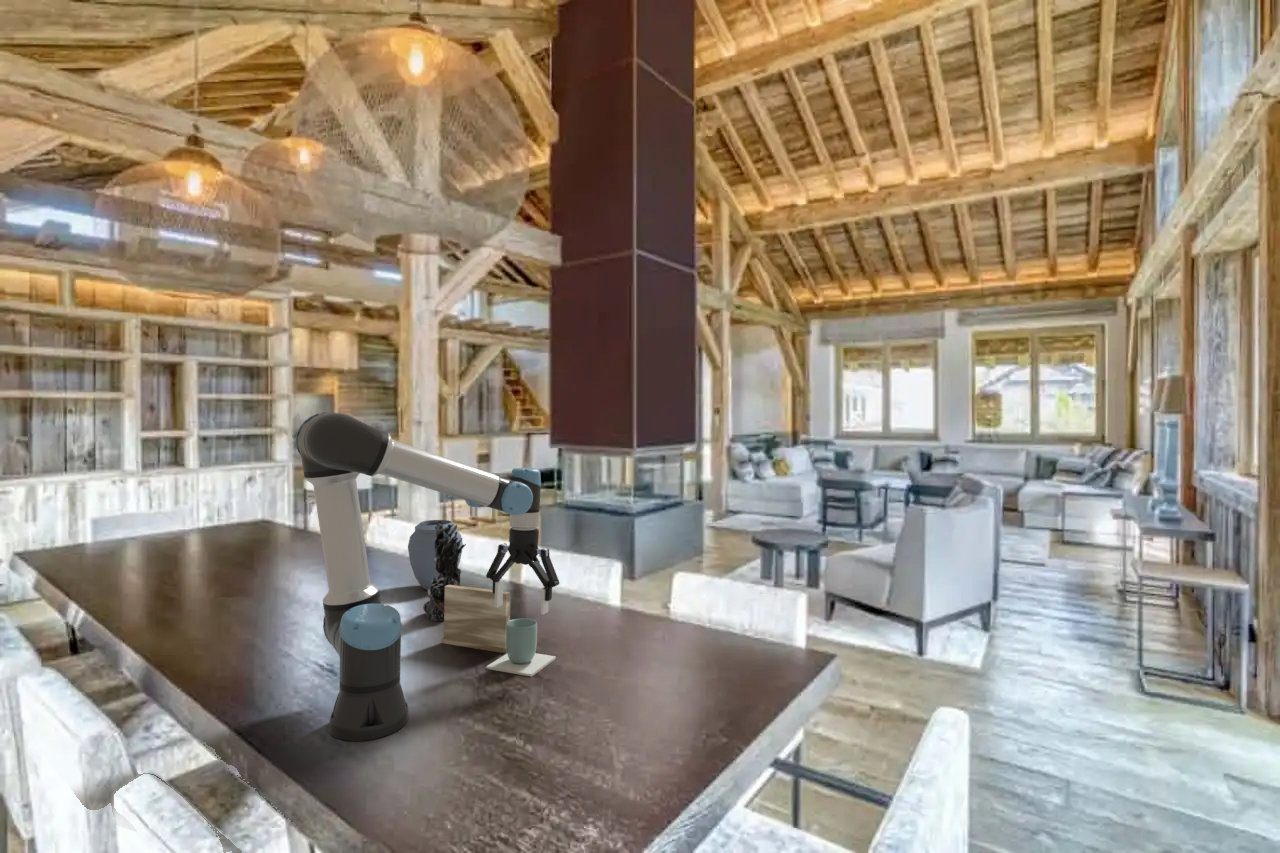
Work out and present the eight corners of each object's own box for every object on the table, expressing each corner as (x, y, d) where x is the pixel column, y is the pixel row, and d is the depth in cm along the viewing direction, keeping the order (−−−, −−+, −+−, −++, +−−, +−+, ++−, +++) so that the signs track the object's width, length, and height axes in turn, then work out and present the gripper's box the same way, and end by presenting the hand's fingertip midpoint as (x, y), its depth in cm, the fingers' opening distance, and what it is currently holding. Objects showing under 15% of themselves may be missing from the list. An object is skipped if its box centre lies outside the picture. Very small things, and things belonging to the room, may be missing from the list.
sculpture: (410, 621, 203) (411, 525, 202) (436, 607, 217) (437, 518, 217) (451, 625, 199) (453, 527, 199) (475, 611, 214) (477, 520, 214)
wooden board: (505, 653, 177) (506, 594, 177) (441, 643, 184) (442, 586, 184) (511, 650, 180) (512, 592, 179) (447, 639, 187) (448, 584, 187)
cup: (529, 668, 166) (530, 628, 165) (501, 665, 167) (501, 626, 167) (540, 657, 173) (541, 619, 173) (513, 654, 175) (513, 617, 175)
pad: (531, 676, 162) (531, 674, 162) (486, 668, 166) (486, 666, 166) (555, 658, 174) (555, 656, 174) (513, 651, 178) (513, 649, 178)
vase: (408, 582, 248) (409, 518, 248) (461, 580, 254) (462, 517, 254) (406, 596, 230) (407, 527, 229) (463, 593, 236) (464, 525, 235)
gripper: (574, 530, 169) (570, 612, 169) (491, 521, 177) (487, 599, 177) (560, 534, 162) (557, 620, 162) (474, 525, 170) (471, 606, 170)
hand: (521, 609), depth 170 cm, fingers open, 13 cm apart
